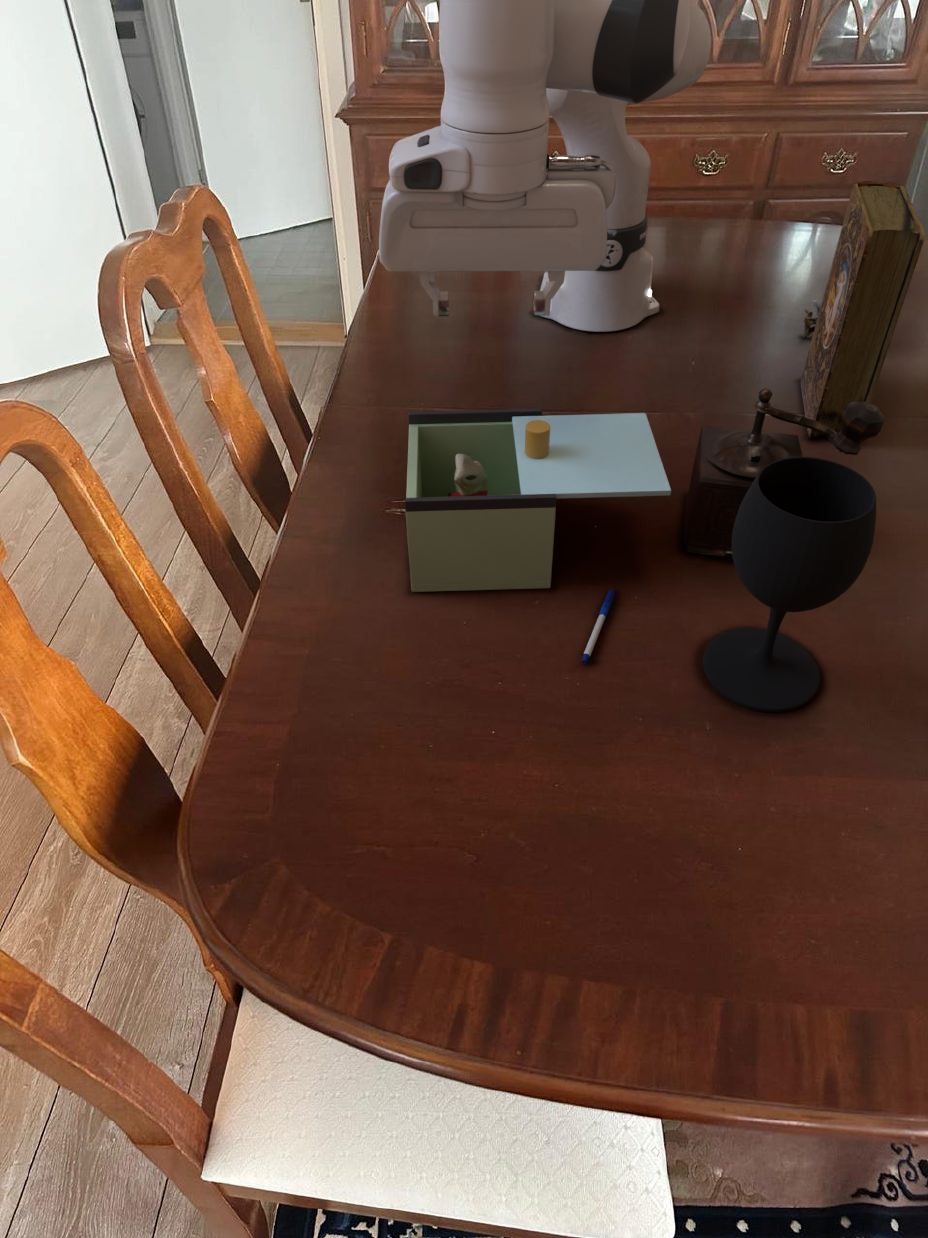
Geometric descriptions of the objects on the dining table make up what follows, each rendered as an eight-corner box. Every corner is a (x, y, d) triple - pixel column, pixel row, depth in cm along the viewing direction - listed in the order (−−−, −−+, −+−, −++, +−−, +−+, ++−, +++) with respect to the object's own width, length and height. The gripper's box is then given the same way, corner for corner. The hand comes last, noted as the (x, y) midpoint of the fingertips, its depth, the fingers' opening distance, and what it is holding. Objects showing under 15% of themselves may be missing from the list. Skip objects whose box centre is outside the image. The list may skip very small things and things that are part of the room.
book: (799, 377, 120) (852, 179, 103) (842, 380, 119) (902, 181, 102) (808, 442, 109) (869, 231, 91) (855, 446, 108) (926, 234, 91)
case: (414, 498, 101) (408, 411, 94) (537, 495, 102) (541, 407, 94) (411, 592, 90) (404, 501, 82) (550, 588, 90) (556, 497, 82)
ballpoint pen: (606, 591, 89) (607, 584, 88) (615, 593, 89) (616, 586, 88) (580, 664, 82) (581, 656, 81) (590, 666, 82) (591, 658, 81)
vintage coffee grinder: (682, 556, 93) (712, 402, 81) (685, 495, 101) (713, 346, 89) (837, 574, 91) (892, 418, 78) (828, 510, 99) (877, 359, 86)
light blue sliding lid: (512, 421, 94) (512, 390, 91) (645, 417, 94) (649, 386, 91) (521, 499, 84) (522, 467, 81) (670, 495, 84) (676, 463, 81)
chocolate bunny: (509, 525, 96) (511, 445, 89) (462, 561, 92) (460, 480, 85) (470, 506, 99) (469, 427, 92) (422, 540, 94) (417, 460, 87)
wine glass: (753, 729, 76) (812, 546, 63) (678, 653, 83) (716, 472, 69) (845, 686, 80) (919, 504, 66) (765, 616, 86) (818, 437, 73)
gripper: (614, 142, 77) (597, 297, 86) (375, 143, 77) (386, 298, 86) (624, 167, 72) (605, 328, 82) (371, 169, 72) (382, 329, 82)
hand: (491, 313), depth 84 cm, fingers open, 8 cm apart
